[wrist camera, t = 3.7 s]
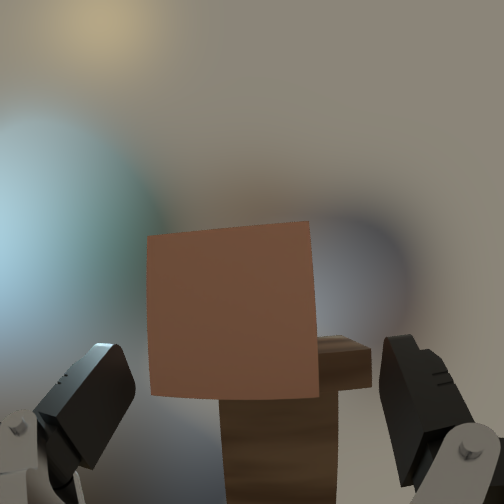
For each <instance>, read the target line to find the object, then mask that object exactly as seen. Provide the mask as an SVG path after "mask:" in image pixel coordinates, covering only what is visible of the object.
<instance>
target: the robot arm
mask: <svg viewBox="0 0 504 504" xmlns="http://www.w3.org/2000/svg"><path fill="white" fill-rule="evenodd" d="M135 389H136V388H135V382H134V379H133V376H132V374H131V371H130V369H129V366H128V363H127V361H126V358H125V355H124V353H123V350H122V348H121V347H120V346H119V345H117V344H104V343H97V344H95V345H94V346H93V347H92V348H91V349H90V350H89V352H88V353H87V354H86V355H85V356H84V357H83V358H82V359H80V360H79V361H77V362H76V363H74V364H73V365H72V366H71V367H70V368H69V369H68V370H67V372H66V373H65V374H64V376H62V378H60V380H59V381H58V384H55V385H54V387H53V388H52V389H51V390H50V391H49V392H48V394H47V395H46V396H45V397H44V398H43V399H42V401H41V402H40V403H39V404H38V406H37V407H36V408H35V409H34V410H33V411H30V410H18V411H15V412H13V413H11V414H9V415H8V416H7V417H6V418H5V419H4V420H3V421H2V422H0V504H85V501H84V497H83V492H82V488H81V483H80V479H79V476H78V473H77V472H76V471H75V470H76V469H77V467H78V466H81V467H84V468H88V469H91V470H93V469H94V467H95V465H96V463H97V462H98V460H99V458H100V456H101V454H102V453H103V451H104V449H105V447H106V446H107V444H108V442H109V440H110V439H111V437H112V435H113V433H114V432H115V430H116V428H117V427H118V425H119V423H120V421H121V420H122V418H123V416H124V414H125V413H126V411H127V409H128V407H129V406H130V404H131V402H132V401H133V399H134V396H135ZM379 393H380V399H381V403H382V407H383V411H384V414H385V418H386V423H387V426H388V430H389V435H390V439H391V443H392V447H393V452H394V456H395V461H396V465H397V470H398V474H399V480H400V485H401V487H406V486H411V485H414V488H415V493H416V494H415V496H414V497H413V499H412V501H411V502H410V504H504V438H499V437H498V436H497V435H496V433H495V432H494V431H493V430H492V429H490V428H489V427H487V426H485V425H482V424H479V423H475V422H474V420H473V418H472V416H471V414H470V412H469V409H468V408H467V405H466V404H465V402H464V400H463V398H462V396H461V394H460V392H459V390H458V388H457V386H456V384H454V382H453V379H452V377H451V375H450V374H449V373H448V370H447V368H446V366H445V364H444V362H443V361H442V359H441V358H440V357H439V356H437V355H436V354H435V353H433V352H432V351H431V350H430V349H425V350H419V348H418V346H417V344H416V342H415V340H414V338H413V336H412V335H411V334H408V335H400V336H392V337H386V338H385V339H384V344H383V353H382V361H381V369H380V377H379Z"/></svg>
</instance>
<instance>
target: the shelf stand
mask: <svg viewBox="0 0 504 504" xmlns="http://www.w3.org/2000/svg"><path fill="white" fill-rule="evenodd" d="M317 343H318V369H319V397H316V398H299V399H274V400H220V399H219V414H220V428H221V441H222V453H223V454H222V455H223V466H224V478H225V489H226V499H227V504H336V491H337V468H338V391H341V390H352V389H361V388H369V387H372V367H371V365H372V363H371V348H368V347H366V346H364V345H361V344H359V343H357V342H355V341H353V340H351V339H348V338H346V337H344V336H342V335H336V336H324V337H317Z"/></svg>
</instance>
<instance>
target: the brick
mask: <svg viewBox="0 0 504 504" xmlns="http://www.w3.org/2000/svg"><path fill="white" fill-rule="evenodd" d="M147 332H148V354H149V371H150V386H151V395H154V396H165V397H179V398H195V399H196V398H197V399H220V400H274V399H299V398H316V397H319V369H318V343H317V324H316V306H315V291H314V276H313V264H312V251H311V239H310V229H309V221H301V222H289V223H277V224H266V225H254V226H243V227H233V228H221V229H211V230H201V231H191V232H181V233H171V234H162V235H153V236H148V237H147Z"/></svg>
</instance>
